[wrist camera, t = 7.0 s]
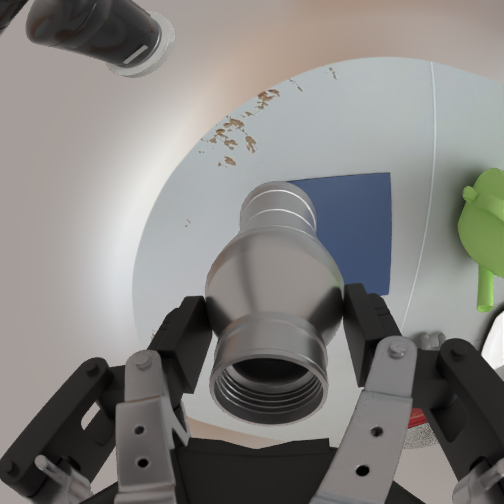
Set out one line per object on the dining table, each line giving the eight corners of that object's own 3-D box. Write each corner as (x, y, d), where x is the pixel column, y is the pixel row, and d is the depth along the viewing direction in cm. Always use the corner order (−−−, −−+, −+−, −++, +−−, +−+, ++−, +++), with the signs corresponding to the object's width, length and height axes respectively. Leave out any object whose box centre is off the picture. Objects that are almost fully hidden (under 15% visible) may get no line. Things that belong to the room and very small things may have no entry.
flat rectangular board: (280, 182, 38) (280, 182, 38) (389, 172, 36) (390, 172, 35) (295, 305, 45) (295, 306, 45) (388, 293, 43) (388, 294, 43)
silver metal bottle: (306, 171, 24) (383, 280, 6) (318, 240, 26) (368, 433, 8) (236, 184, 25) (124, 314, 7) (252, 251, 28) (204, 444, 9)
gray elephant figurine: (436, 355, 47) (449, 379, 40) (387, 368, 49) (396, 395, 42) (444, 322, 44) (460, 346, 37) (391, 335, 46) (403, 363, 39)
